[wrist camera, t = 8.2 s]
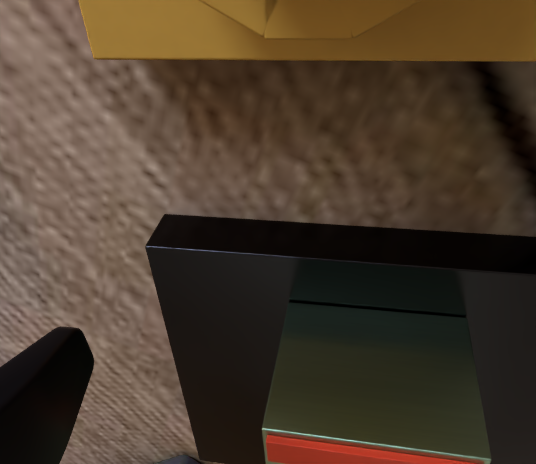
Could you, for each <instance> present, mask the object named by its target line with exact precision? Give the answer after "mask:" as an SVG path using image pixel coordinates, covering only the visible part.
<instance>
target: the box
mask: <svg viewBox="0 0 536 464" xmlns="http://www.w3.org/2000/svg"><path fill="white" fill-rule="evenodd" d="M262 435H263V444H264V452H265V461H266V464H490V463H491V460H492V459H491V454H490V448H489V442H488V436H487V430H486V425H485V419H484V413H483V407H482V401H481V395H480V390H479V384H478V378H477V372H476V366H475V361H474V355H473V349H472V343H471V337H470V331H469V326H468V320H467V318H461V317H450V316H439V315H427V314H416V313H405V312H393V311H382V310H371V309H360V308H348V307H337V306H326V305H314V304H303V303H292V302H289V303H288V307H287V312H286V316H285V321H284V326H283V331H282V335H281V340H280V345H279V350H278V354H277V359H276V364H275V369H274V373H273V378H272V383H271V388H270V392H269V397H268V402H267V407H266V411H265V416H264V421H263V425H262Z"/></svg>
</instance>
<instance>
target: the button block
mask: <svg viewBox="0 0 536 464" xmlns="http://www.w3.org/2000/svg"><path fill="white" fill-rule="evenodd" d="M79 4H80V8H81V12H82V16H83V20H84V24H85V27H86V31H87V35H88V39H89V43H90V47H91V50H92V54H93V57H94V59H107V60H319V61H531V62H536V0H79Z"/></svg>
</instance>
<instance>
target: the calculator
mask: <svg viewBox="0 0 536 464" xmlns="http://www.w3.org/2000/svg"><path fill="white" fill-rule="evenodd" d="M155 464H200V463H199V462H197V461H196V460H194V459H192V458H191V457H189V456H187V455H180V456H177V457H173V458H170V459H167V460H164V461H161V462H158V463H155Z"/></svg>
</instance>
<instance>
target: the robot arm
mask: <svg viewBox="0 0 536 464" xmlns="http://www.w3.org/2000/svg"><path fill="white" fill-rule="evenodd" d="M93 367H94V358H93V354H92V352H91V350H90V347H89V345H88V343H87V340H86V338H85V336H84V334H83V332H82V331H81V330H80V329H79V328H73V327H57V328H55V329H54V330H52V331H51V332H49V333H48V334H46V335H45V336H44V337H42V338H41V339H39V340H38V341H36V342H35V343H34V344H32V345H31V346H29V347H28V348H27V349H25V350H24V351H22V352H21V353H20V354H18V355H17V356H15V357H14V358H12V359H11V360H10V361H8V362H7V363H5V364H4V365H3V366H1V367H0V464H59V463H60V461H61V459H62V456H63V454H64V452H65V449H66V447H67V444H68V441H69V439H70V436H71V433H72V430H73V427H74V424H75V421H76V418H77V415H78V413H79V410H80V407H81V404H82V401H83V398H84V395H85V392H86V389H87V386H88V383H89V380H90V377H91V374H92V371H93Z"/></svg>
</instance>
